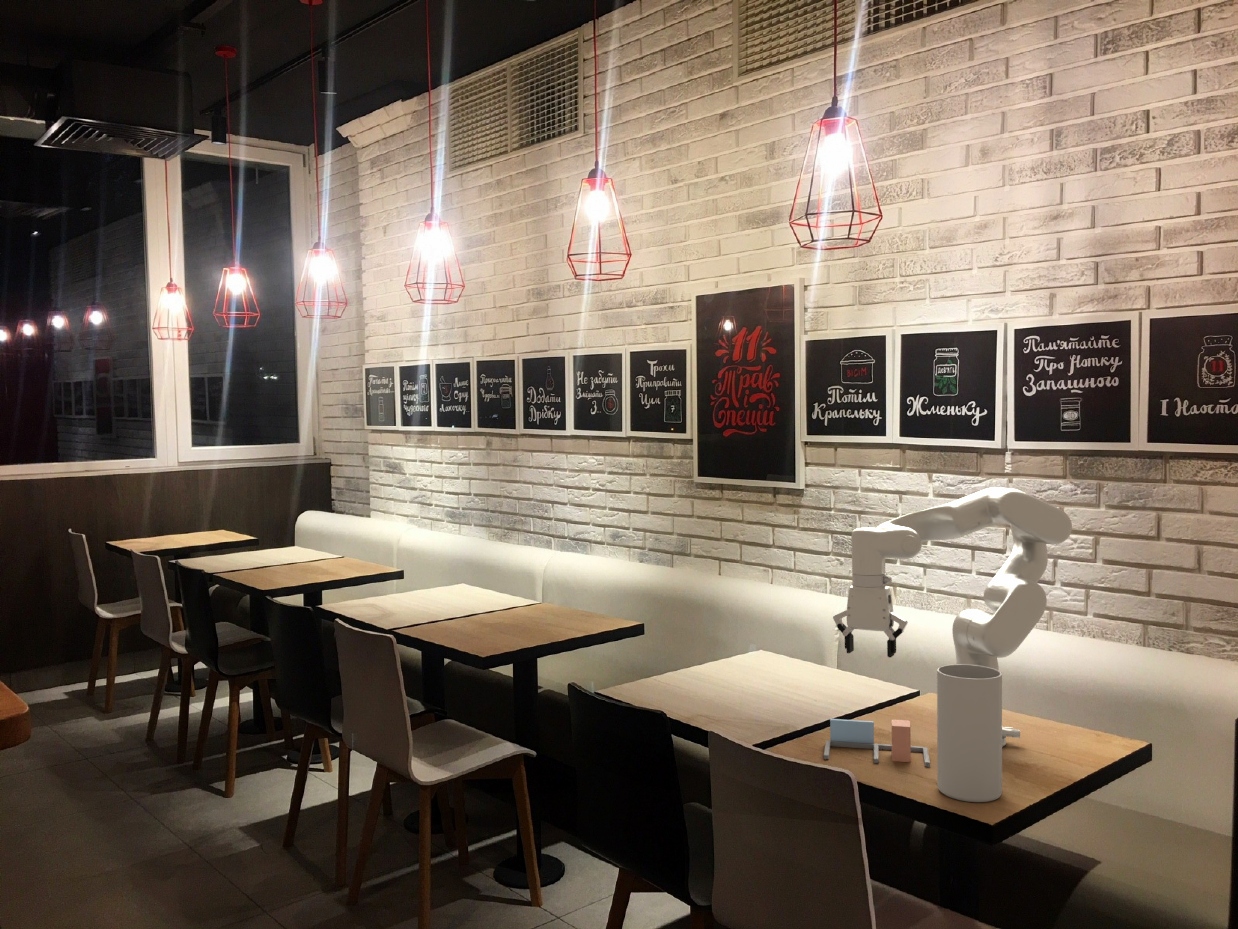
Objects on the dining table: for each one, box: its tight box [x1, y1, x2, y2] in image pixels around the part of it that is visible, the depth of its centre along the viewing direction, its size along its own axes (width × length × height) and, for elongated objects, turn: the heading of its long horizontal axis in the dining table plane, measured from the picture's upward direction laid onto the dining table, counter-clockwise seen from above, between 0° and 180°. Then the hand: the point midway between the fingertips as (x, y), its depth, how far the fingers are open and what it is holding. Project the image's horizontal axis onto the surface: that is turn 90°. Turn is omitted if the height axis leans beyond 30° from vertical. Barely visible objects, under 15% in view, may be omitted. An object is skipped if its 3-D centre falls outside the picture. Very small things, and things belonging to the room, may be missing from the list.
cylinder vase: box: [936, 663, 1003, 803], centre depth 199 cm, size 12×12×25 cm
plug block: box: [891, 719, 912, 763], centre depth 221 cm, size 4×5×8 cm
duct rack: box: [823, 718, 931, 768], centre depth 223 cm, size 23×12×6 cm, turn 75°
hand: (870, 654), depth 226 cm, fingers open, 9 cm apart
